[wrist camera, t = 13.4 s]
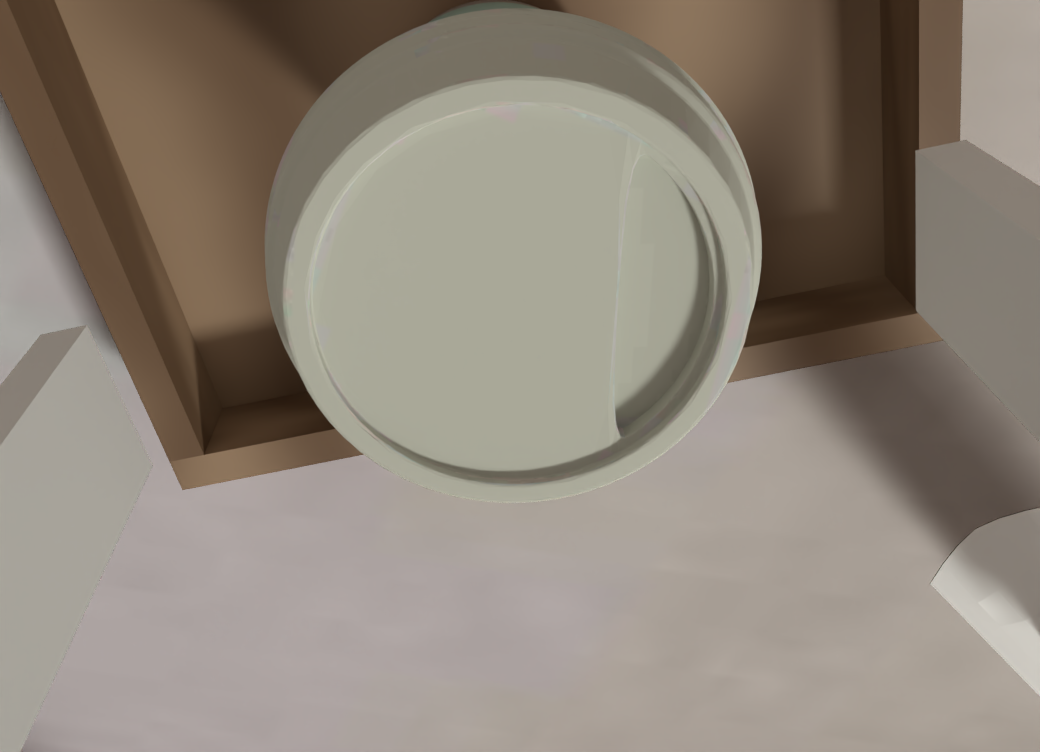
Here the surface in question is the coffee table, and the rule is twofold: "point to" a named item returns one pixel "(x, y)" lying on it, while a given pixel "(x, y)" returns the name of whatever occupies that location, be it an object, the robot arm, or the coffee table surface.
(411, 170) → the coffee cup
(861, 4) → the walnut tray
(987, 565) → the heart sculpture
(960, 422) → the coffee table surface
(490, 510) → the coffee table surface
